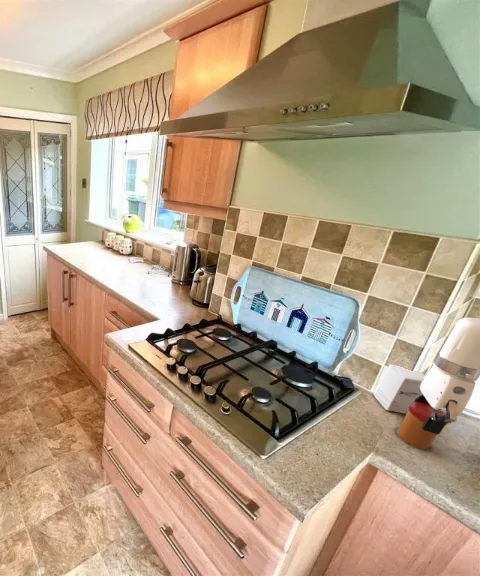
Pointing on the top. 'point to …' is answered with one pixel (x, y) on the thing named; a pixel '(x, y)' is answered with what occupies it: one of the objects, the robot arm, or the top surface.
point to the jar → (415, 432)
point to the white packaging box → (398, 388)
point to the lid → (422, 410)
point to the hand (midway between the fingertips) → (423, 420)
